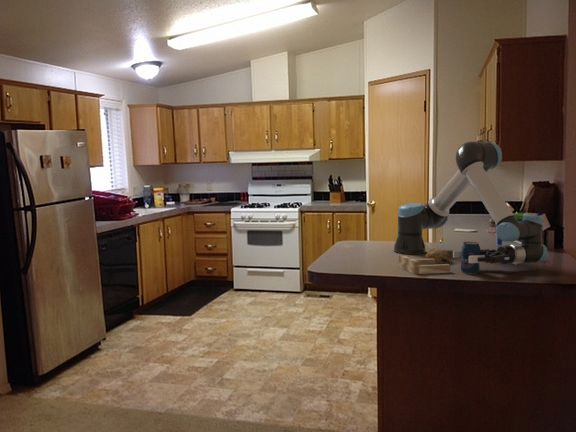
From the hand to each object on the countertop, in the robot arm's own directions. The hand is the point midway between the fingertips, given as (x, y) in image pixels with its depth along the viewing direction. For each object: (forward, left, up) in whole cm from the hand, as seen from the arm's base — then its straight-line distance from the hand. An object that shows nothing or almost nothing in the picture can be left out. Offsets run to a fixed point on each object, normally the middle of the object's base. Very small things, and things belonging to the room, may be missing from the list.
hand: (461, 256), depth 197 cm
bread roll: (-23, +3, -7) cm, 25 cm away
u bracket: (-9, -11, -6) cm, 16 cm away
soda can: (0, +4, -7) cm, 8 cm away
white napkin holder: (-25, +45, -7) cm, 52 cm away
